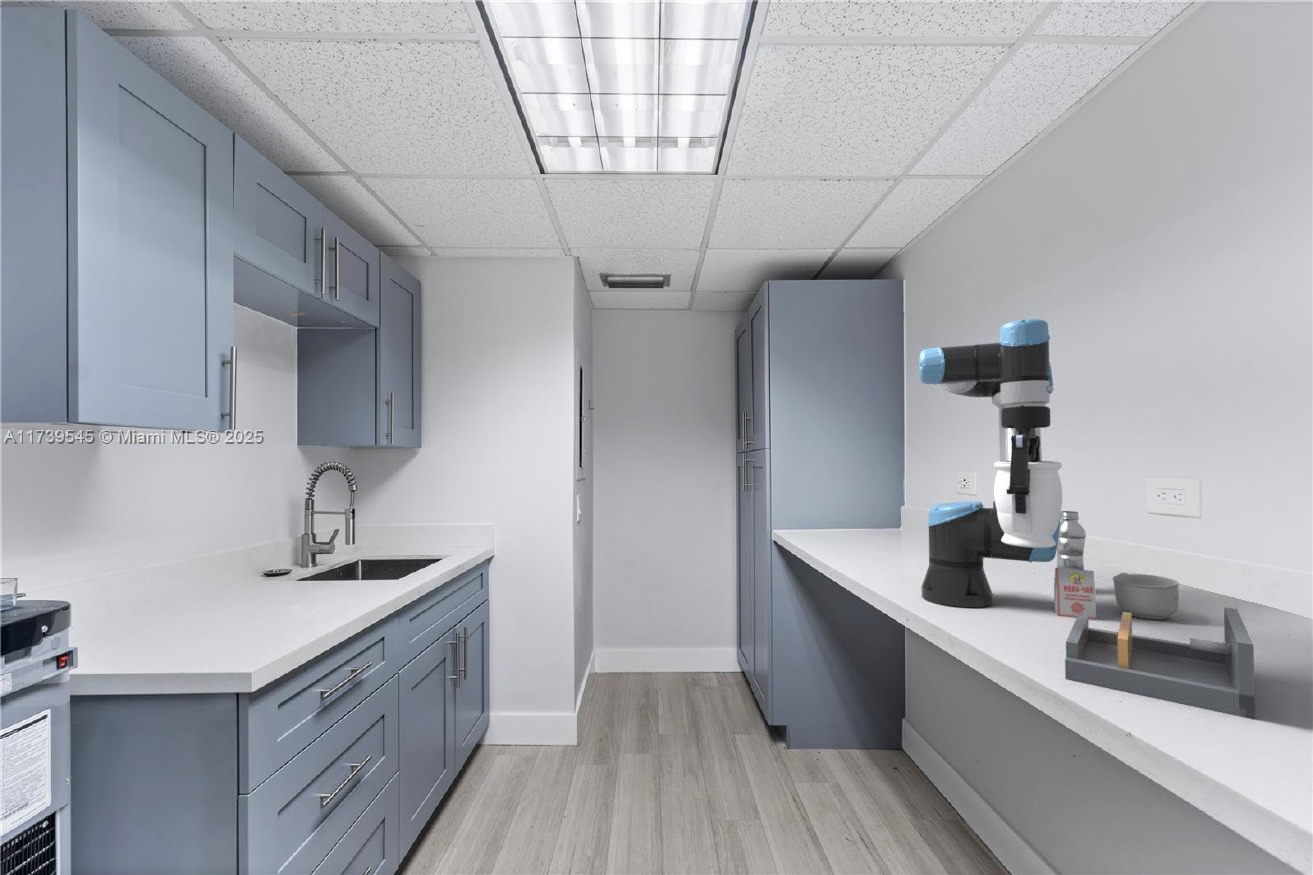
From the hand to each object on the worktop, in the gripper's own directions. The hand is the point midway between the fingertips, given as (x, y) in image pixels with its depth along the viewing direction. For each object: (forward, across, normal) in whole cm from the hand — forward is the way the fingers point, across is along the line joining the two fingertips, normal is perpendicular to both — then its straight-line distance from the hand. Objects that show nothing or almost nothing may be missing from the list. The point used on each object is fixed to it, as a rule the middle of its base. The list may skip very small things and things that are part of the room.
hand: (1027, 528), depth 104 cm
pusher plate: (+21, 0, -14) cm, 25 cm away
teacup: (+22, +42, -15) cm, 50 cm away
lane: (+22, 0, -17) cm, 28 cm away
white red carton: (+22, +31, -4) cm, 38 cm away
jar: (+3, 0, 0) cm, 3 cm away
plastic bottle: (+22, +55, -1) cm, 59 cm away
